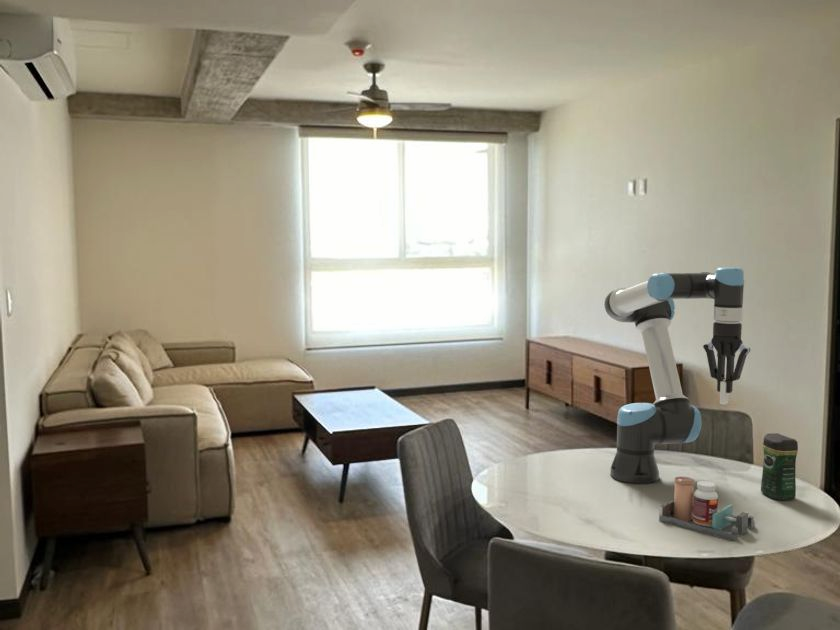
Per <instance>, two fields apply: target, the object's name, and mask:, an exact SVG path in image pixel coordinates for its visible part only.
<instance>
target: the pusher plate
mask: <svg viewBox="0 0 840 630" xmlns="http://www.w3.org/2000/svg"><path fill="white" fill-rule="evenodd" d="M732 515H733V504H730V503H729V504H727V505H726V506H725V507H722V508H721V509H720V510H717V512H716V513H714V514H713V518H712V527H711V528H714V529H718V530H722V531H723V529H724V528H727V527H728V526H729V525H731V524H732V523H733V522H736V523H735V526H736V527H738V536H743V535H745V534H746V533H748V517H749V513H748V512H745V511H742V512H740V513H739V514H736V518H733V517H732ZM732 521H733V522H732Z"/></svg>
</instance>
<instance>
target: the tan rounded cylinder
mask: <svg viewBox="0 0 840 630" xmlns="http://www.w3.org/2000/svg"><path fill="white" fill-rule="evenodd" d="M673 481H674V496H673V499H674V515H673V518H677V519H680V520H684V521H688V522H691V521H693V501H694V492H695V490H694V489H695V479H694V478H693V477H689V476H676V477H674V480H673Z"/></svg>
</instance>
